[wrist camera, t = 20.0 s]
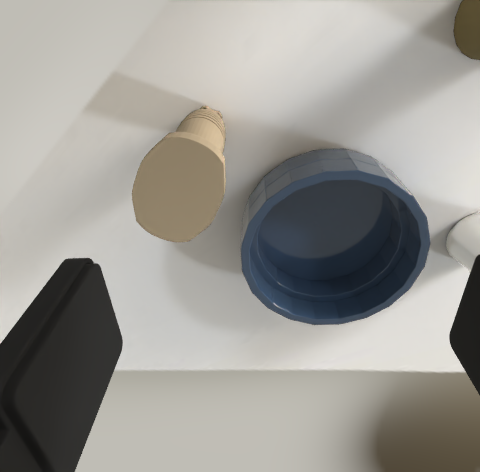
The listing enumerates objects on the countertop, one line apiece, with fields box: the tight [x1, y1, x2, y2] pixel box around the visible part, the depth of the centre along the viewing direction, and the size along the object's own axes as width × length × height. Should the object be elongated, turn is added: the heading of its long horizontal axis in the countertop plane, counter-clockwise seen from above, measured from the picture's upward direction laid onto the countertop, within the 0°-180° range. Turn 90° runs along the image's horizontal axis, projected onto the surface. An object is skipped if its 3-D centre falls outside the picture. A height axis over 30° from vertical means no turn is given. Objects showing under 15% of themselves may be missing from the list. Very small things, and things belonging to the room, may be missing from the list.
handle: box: [132, 106, 226, 242], centre depth 27 cm, size 5×6×15 cm
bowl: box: [241, 149, 430, 325], centre depth 36 cm, size 17×17×6 cm
